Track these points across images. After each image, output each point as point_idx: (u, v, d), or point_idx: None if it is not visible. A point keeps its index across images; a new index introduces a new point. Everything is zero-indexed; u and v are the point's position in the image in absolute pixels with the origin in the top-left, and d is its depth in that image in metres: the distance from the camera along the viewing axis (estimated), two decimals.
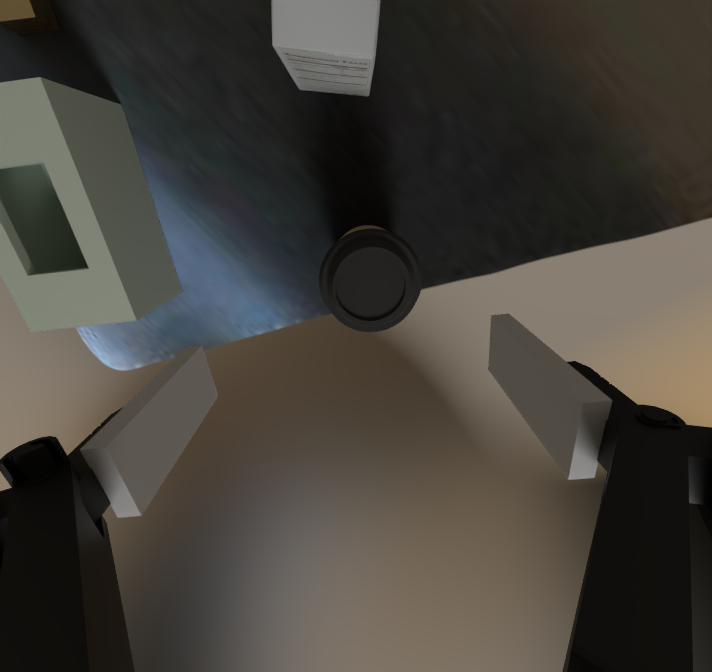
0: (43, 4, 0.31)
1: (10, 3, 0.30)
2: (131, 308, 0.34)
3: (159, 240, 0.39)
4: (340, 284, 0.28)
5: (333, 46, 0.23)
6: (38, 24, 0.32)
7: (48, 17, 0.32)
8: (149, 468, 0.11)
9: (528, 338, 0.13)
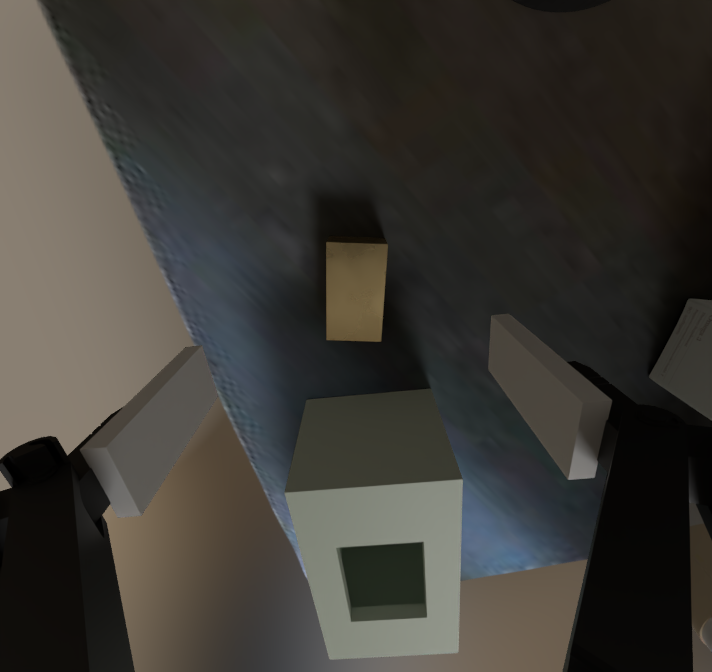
0: None
1: (357, 327, 0.25)
2: (457, 644, 0.28)
3: None
4: None
5: None
6: None
7: None
8: (149, 468, 0.11)
9: (528, 338, 0.13)
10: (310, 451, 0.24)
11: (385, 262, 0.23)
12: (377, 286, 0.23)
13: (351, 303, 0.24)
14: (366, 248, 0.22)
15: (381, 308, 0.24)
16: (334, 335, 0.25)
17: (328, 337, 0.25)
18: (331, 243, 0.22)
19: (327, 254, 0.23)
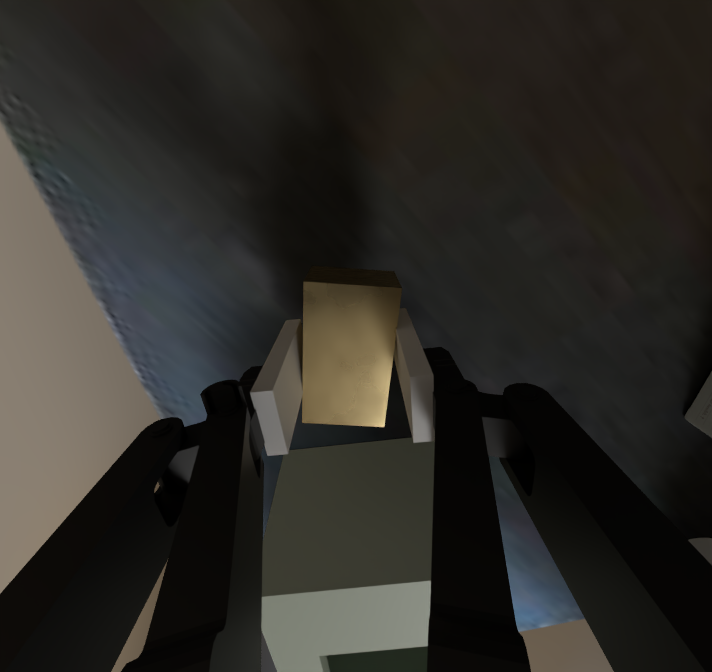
0: None
1: (349, 407, 0.16)
2: None
3: None
4: None
5: None
6: None
7: None
8: (288, 416, 0.13)
9: (406, 328, 0.15)
10: (286, 529, 0.19)
11: (396, 315, 0.14)
12: (382, 349, 0.15)
13: (341, 372, 0.15)
14: (368, 292, 0.14)
15: (386, 381, 0.16)
16: (314, 416, 0.16)
17: (305, 419, 0.17)
18: (311, 283, 0.14)
19: (305, 300, 0.14)
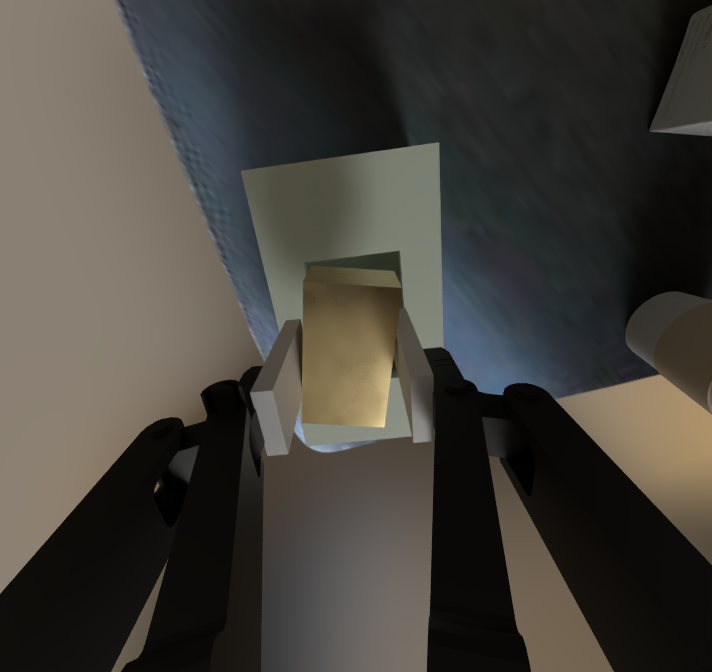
0: None
1: (349, 407, 0.16)
2: None
3: None
4: None
5: None
6: None
7: None
8: (288, 416, 0.13)
9: (406, 328, 0.15)
10: None
11: (396, 315, 0.14)
12: (382, 349, 0.15)
13: (340, 373, 0.15)
14: (368, 292, 0.14)
15: (386, 381, 0.16)
16: (313, 416, 0.16)
17: (304, 419, 0.16)
18: (311, 283, 0.14)
19: (304, 300, 0.14)
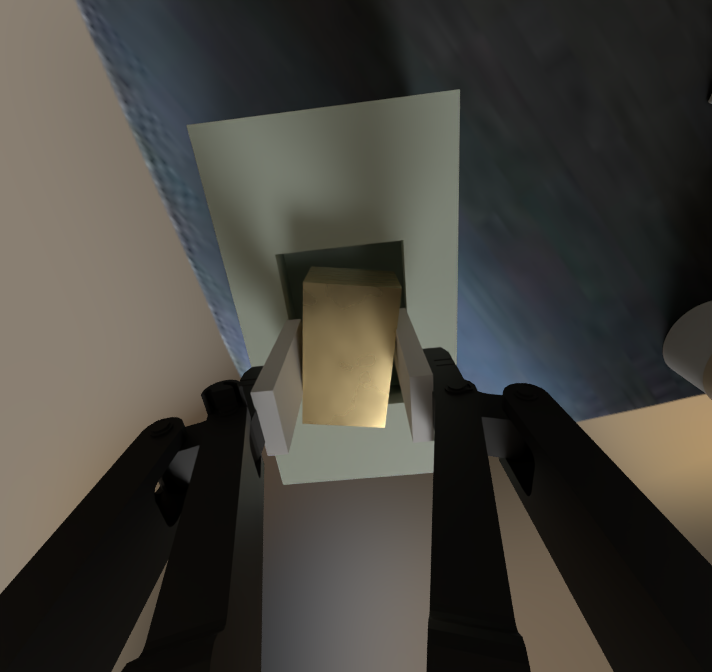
0: None
1: (349, 407, 0.16)
2: None
3: None
4: None
5: None
6: None
7: None
8: (288, 416, 0.13)
9: (405, 328, 0.15)
10: None
11: (396, 315, 0.14)
12: (382, 350, 0.15)
13: (341, 373, 0.15)
14: (368, 293, 0.14)
15: (386, 382, 0.16)
16: (314, 417, 0.16)
17: (305, 420, 0.16)
18: (311, 284, 0.14)
19: (304, 301, 0.14)
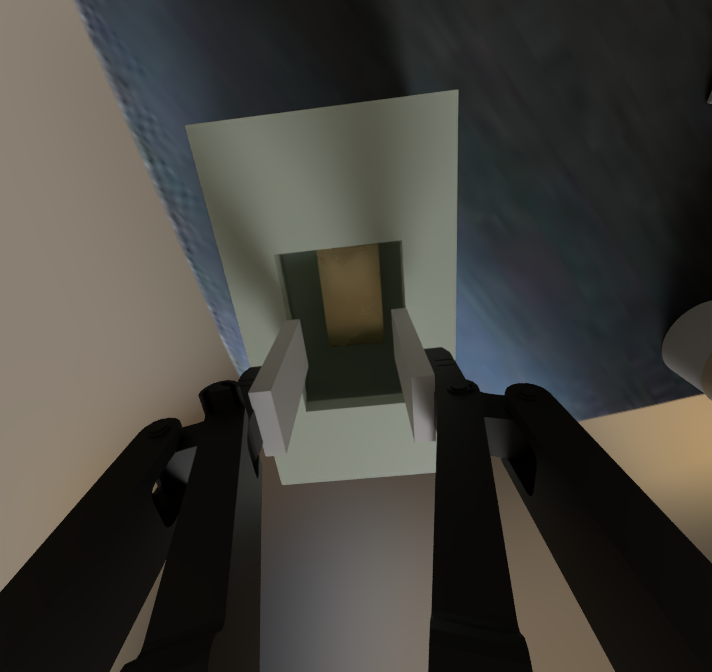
0: None
1: (358, 331, 0.24)
2: None
3: None
4: None
5: None
6: None
7: None
8: (286, 416, 0.13)
9: (407, 328, 0.15)
10: None
11: (378, 262, 0.22)
12: (373, 287, 0.23)
13: (349, 307, 0.24)
14: (357, 250, 0.22)
15: (379, 309, 0.24)
16: (336, 341, 0.25)
17: (331, 344, 0.25)
18: (321, 250, 0.22)
19: (318, 261, 0.22)
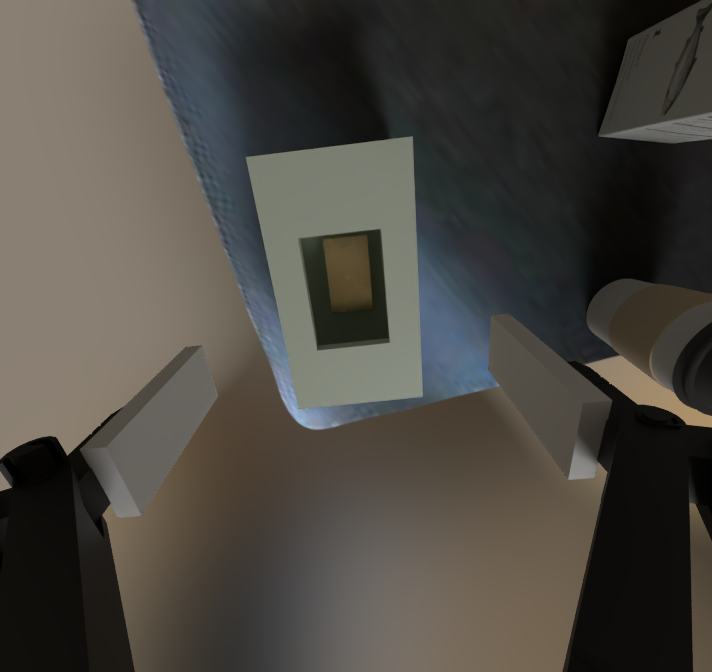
0: None
1: (353, 300, 0.33)
2: (421, 384, 0.30)
3: None
4: None
5: None
6: None
7: None
8: (149, 468, 0.11)
9: (528, 338, 0.13)
10: None
11: (367, 248, 0.31)
12: (364, 267, 0.32)
13: (346, 282, 0.32)
14: (352, 240, 0.31)
15: (369, 283, 0.32)
16: (337, 308, 0.33)
17: (333, 310, 0.33)
18: (326, 240, 0.31)
19: (324, 248, 0.31)
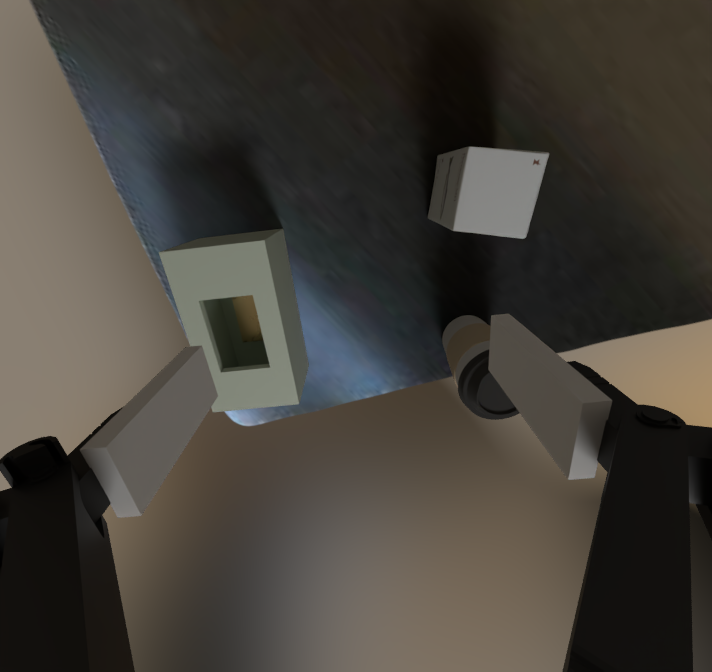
0: None
1: (257, 333, 0.46)
2: (296, 395, 0.42)
3: (300, 328, 0.48)
4: (480, 389, 0.37)
5: (497, 231, 0.32)
6: None
7: None
8: (149, 468, 0.11)
9: (528, 338, 0.13)
10: (185, 245, 0.38)
11: None
12: None
13: (250, 321, 0.45)
14: None
15: None
16: (246, 339, 0.46)
17: (243, 340, 0.46)
18: None
19: (232, 298, 0.44)
